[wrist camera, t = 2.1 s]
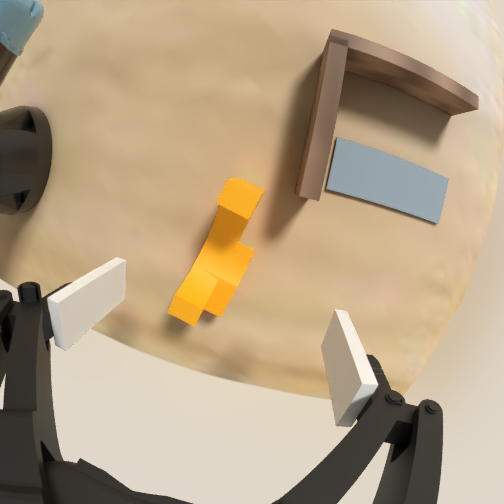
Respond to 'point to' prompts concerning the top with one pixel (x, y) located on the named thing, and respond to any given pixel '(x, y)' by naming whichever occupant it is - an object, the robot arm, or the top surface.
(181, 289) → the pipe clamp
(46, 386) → the robot arm
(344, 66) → the brown wooden corner wall
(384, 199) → the pad
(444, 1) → the top surface
